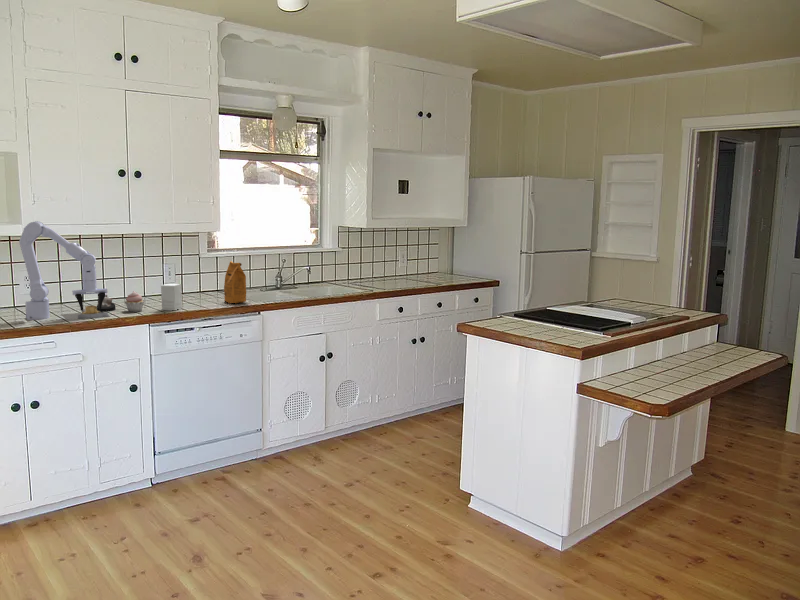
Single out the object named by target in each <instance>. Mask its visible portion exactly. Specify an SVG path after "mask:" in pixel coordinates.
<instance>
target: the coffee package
mask: <svg viewBox="0 0 800 600" xmlns="http://www.w3.org/2000/svg"><path fill="white" fill-rule="evenodd" d="M242 265H243V264H242V263H241V262H233V261H232V260H231V261H229V263H228V266H227V269H226V271H225V276H224V284H223V285H224V287H223V290H224V291H223V292H224V293H223V294H224V298H223V299H224V302H225V301H226V302H225V303H227V302H228V303H227V304H231V303H235V304H241V303H245V302H247V276H246V274H245V272H244V270H243V268H242V267H241V266H242Z"/></svg>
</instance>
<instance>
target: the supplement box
mask: <svg viewBox="0 0 800 600" xmlns="http://www.w3.org/2000/svg"><path fill="white" fill-rule="evenodd" d="M160 293H161V295H160V296H161V297H160V298H161V310H162V311H172V310H176V311H178V310H177V309H179V310H182V309H183V302H182V301H183V299H182V297H183V296H182V284H181V283H180V284H179V283H165V284H161V285H160ZM181 308H182V309H181Z"/></svg>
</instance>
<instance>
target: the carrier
mask: <svg viewBox="0 0 800 600" xmlns="http://www.w3.org/2000/svg"><path fill="white" fill-rule="evenodd" d="M82 312H85V308H83V311H81V312H78V313H77V312H76V313H75V312H74V313H65V314H63V313H62V314H61V316H62V317H63V318H64V319H65V320H66V321H73V320H74V321H75V320H84V319H85V320H86V319H88V320H89V319H97V318H98V319H99V318H109V317H111V316H110V315H109V311H99V312H100V313H94V314H82Z"/></svg>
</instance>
